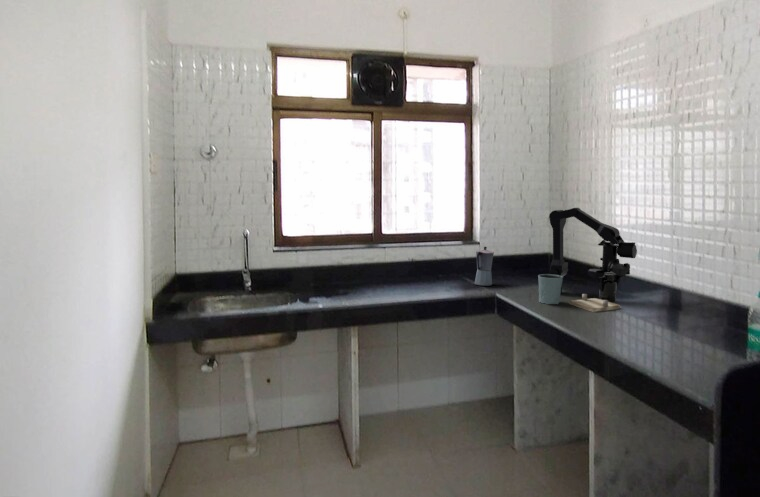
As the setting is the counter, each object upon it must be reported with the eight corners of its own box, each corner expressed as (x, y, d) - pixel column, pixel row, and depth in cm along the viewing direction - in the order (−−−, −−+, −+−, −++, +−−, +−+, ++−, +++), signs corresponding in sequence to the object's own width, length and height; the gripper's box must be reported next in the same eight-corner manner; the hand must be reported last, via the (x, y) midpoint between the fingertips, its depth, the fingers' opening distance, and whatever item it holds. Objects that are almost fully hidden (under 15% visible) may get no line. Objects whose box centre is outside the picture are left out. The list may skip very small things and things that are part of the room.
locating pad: (593, 311, 201) (593, 302, 201) (569, 304, 214) (570, 295, 214) (620, 308, 206) (620, 299, 205) (595, 301, 219) (595, 292, 218)
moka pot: (497, 283, 261) (498, 245, 258) (487, 288, 248) (487, 249, 245) (480, 281, 266) (480, 244, 263) (469, 286, 253) (469, 248, 250)
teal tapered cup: (532, 301, 220) (533, 274, 219) (550, 298, 224) (551, 273, 223) (548, 306, 211) (549, 278, 210) (566, 303, 215) (567, 276, 214)
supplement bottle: (617, 302, 216) (619, 276, 214) (601, 302, 217) (602, 275, 215) (613, 299, 222) (614, 273, 221) (597, 298, 224) (598, 272, 222)
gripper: (606, 260, 206) (605, 296, 209) (641, 257, 213) (639, 292, 215) (587, 256, 217) (586, 291, 219) (620, 254, 223) (618, 287, 225)
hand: (607, 290), depth 219 cm, fingers closed on supplement bottle, 7 cm apart
